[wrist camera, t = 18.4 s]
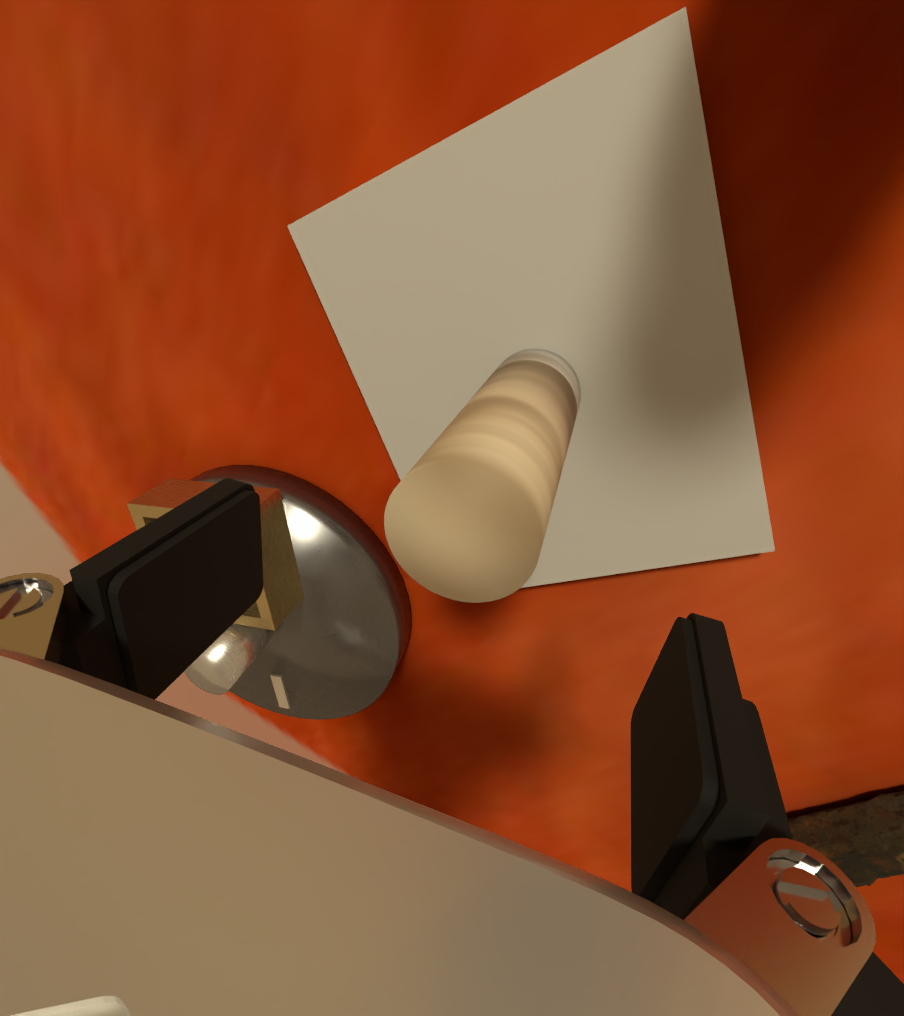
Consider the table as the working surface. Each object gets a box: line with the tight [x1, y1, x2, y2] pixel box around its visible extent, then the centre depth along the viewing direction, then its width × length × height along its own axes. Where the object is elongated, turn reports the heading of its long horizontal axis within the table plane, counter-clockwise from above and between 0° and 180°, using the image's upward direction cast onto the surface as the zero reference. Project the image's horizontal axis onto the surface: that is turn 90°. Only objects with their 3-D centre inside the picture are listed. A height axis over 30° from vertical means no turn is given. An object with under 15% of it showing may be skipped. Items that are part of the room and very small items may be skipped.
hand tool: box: [787, 790, 904, 887], centre depth 27 cm, size 19×4×5 cm, turn 136°
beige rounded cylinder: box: [384, 349, 581, 603], centre depth 18 cm, size 4×4×12 cm
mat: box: [288, 7, 775, 588], centre depth 23 cm, size 20×16×1 cm
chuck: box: [127, 465, 411, 719], centre depth 31 cm, size 18×18×8 cm
